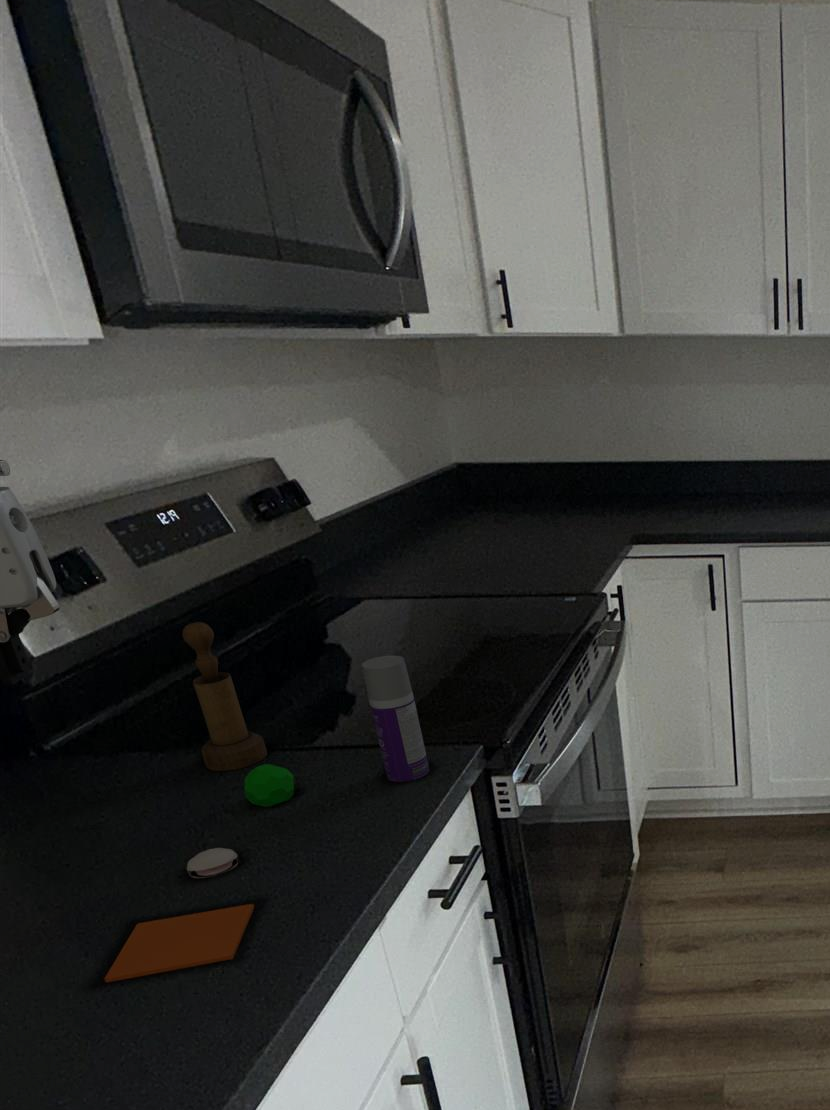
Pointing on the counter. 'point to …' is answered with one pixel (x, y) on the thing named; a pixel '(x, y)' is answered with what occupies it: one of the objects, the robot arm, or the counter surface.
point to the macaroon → (212, 862)
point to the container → (395, 718)
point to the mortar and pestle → (221, 709)
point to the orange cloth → (181, 942)
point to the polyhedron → (269, 785)
